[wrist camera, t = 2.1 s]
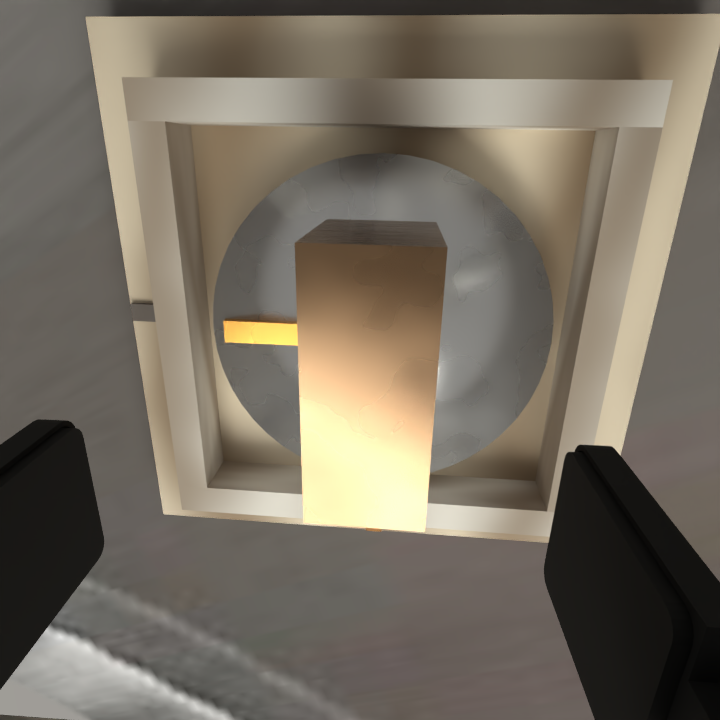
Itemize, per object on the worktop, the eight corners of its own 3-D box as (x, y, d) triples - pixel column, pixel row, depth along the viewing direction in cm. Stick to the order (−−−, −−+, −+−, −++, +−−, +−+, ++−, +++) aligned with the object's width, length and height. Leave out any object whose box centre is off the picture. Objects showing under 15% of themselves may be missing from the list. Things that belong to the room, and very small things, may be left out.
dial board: (700, 26, 16) (772, -7, 13) (587, 524, 24) (615, 581, 21) (110, 28, 18) (44, -2, 15) (176, 494, 25) (142, 543, 22)
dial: (568, 156, 17) (665, 154, 10) (519, 466, 21) (566, 597, 15) (212, 150, 18) (103, 145, 11) (238, 448, 22) (170, 564, 16)
